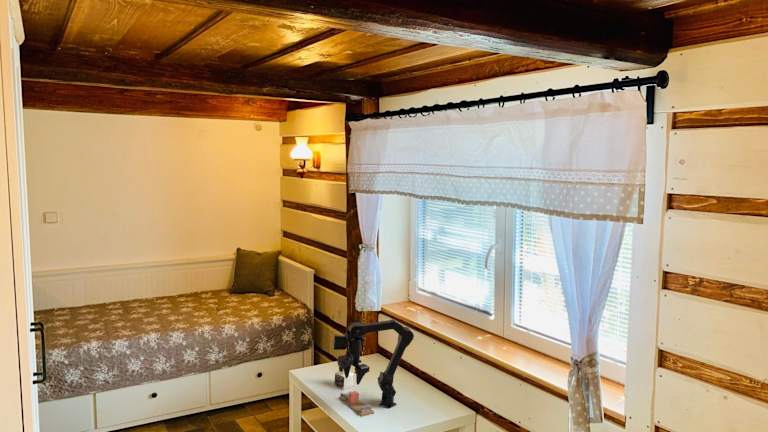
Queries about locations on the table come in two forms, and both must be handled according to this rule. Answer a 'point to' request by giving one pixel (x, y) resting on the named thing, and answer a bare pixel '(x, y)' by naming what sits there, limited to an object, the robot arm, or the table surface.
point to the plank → (357, 406)
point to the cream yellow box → (343, 379)
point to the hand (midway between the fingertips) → (352, 381)
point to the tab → (352, 396)
